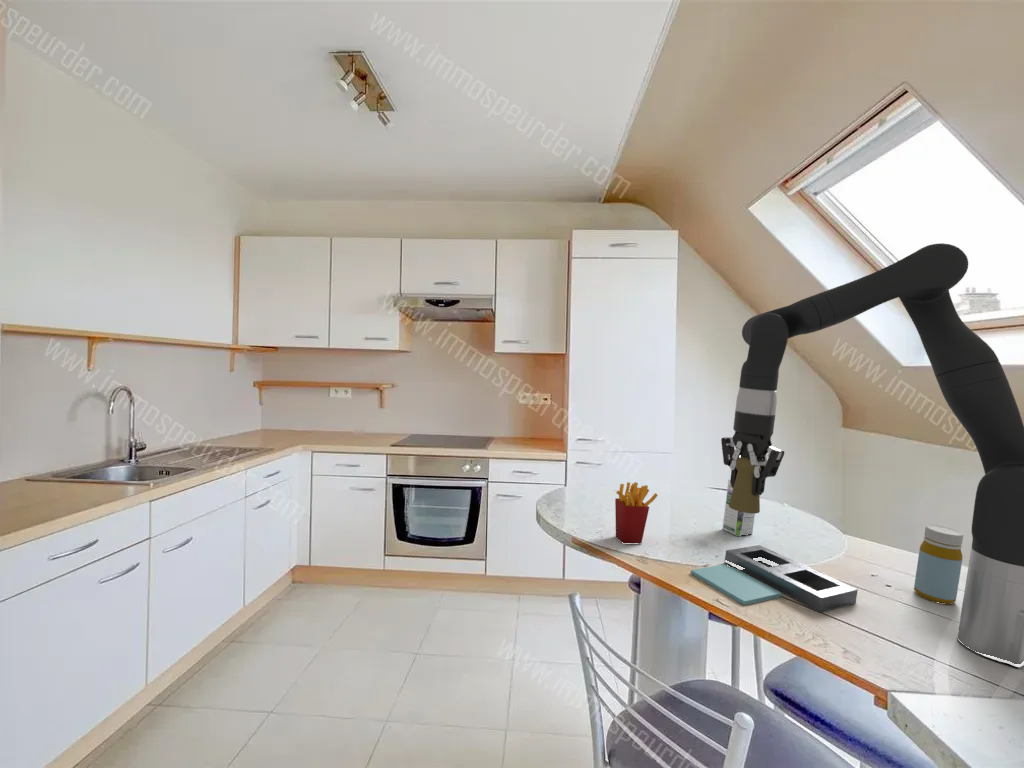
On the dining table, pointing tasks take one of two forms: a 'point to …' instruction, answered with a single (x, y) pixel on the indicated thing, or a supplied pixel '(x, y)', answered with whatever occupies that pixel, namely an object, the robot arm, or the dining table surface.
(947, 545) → the bottle
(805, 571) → the two-slot holder tray
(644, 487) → the french fries
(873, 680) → the dining table surface
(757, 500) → the cork
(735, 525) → the syrup box
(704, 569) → the board
